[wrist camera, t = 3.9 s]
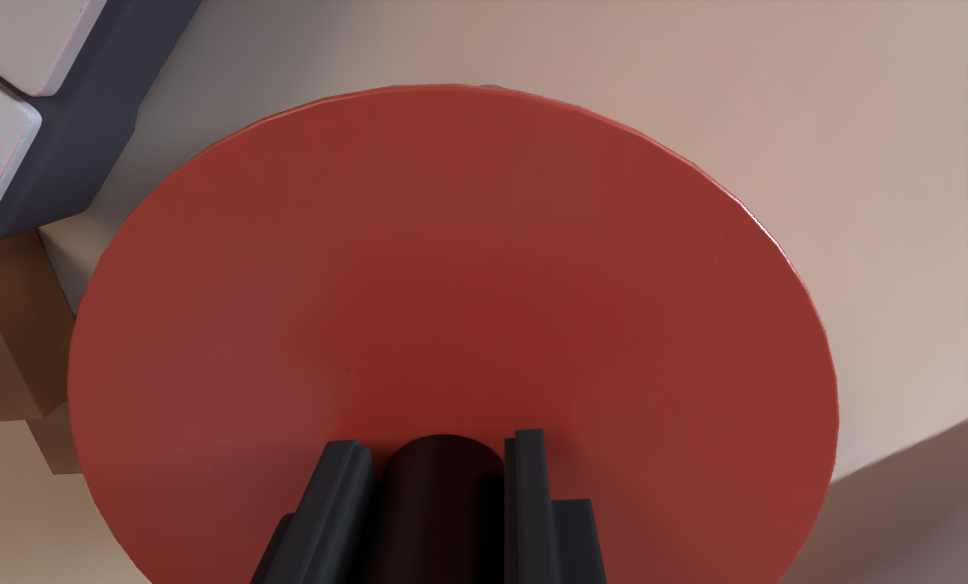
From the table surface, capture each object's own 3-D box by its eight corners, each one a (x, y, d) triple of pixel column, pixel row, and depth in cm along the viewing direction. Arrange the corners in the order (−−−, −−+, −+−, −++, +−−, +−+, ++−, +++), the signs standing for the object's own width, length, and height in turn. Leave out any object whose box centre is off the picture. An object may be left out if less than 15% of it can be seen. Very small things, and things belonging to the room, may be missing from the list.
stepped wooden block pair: (-48, 231, 19) (-133, 259, 16) (56, 222, 19) (-15, 249, 16) (66, 461, 23) (11, 513, 20) (154, 456, 23) (109, 508, 20)
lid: (-20, 126, 10) (-631, 212, 4) (867, 34, 9) (1414, 7, 3) (221, 674, 16) (79, 986, 10) (768, 658, 15) (915, 997, 9)
